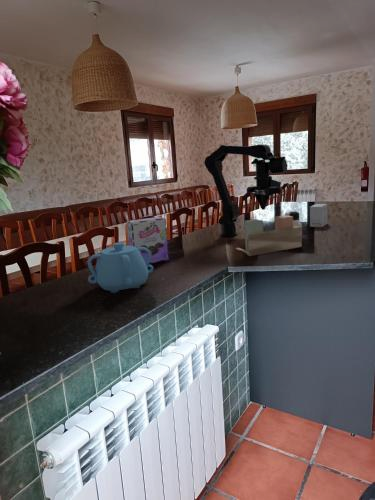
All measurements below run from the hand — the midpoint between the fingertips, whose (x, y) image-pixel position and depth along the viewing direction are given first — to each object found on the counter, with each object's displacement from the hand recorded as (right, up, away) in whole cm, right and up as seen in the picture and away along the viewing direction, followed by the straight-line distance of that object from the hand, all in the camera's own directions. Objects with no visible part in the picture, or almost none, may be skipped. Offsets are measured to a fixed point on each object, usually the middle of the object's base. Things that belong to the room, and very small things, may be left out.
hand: (263, 209), depth 157 cm
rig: (-2, -18, -17) cm, 24 cm away
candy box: (-48, -23, -24) cm, 59 cm away
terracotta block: (+5, -17, -15) cm, 23 cm away
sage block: (-8, -19, -20) cm, 29 cm away
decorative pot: (-54, -30, -50) cm, 79 cm away
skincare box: (+34, -6, +24) cm, 42 cm away
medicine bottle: (+12, -14, -3) cm, 18 cm away
